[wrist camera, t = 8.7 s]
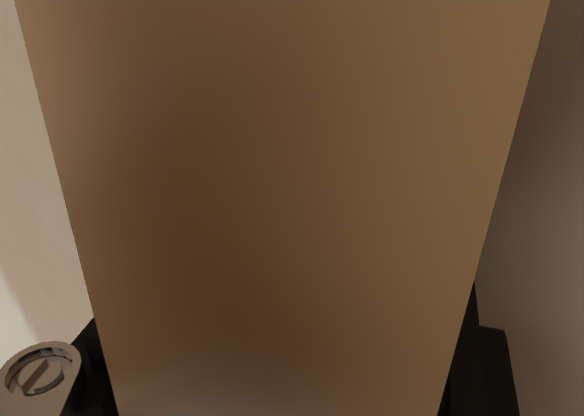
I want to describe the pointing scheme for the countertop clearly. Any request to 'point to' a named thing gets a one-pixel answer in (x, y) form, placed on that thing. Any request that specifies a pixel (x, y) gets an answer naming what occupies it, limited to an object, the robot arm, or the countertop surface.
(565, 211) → the countertop surface
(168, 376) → the wooden block
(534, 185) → the countertop surface
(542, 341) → the countertop surface
